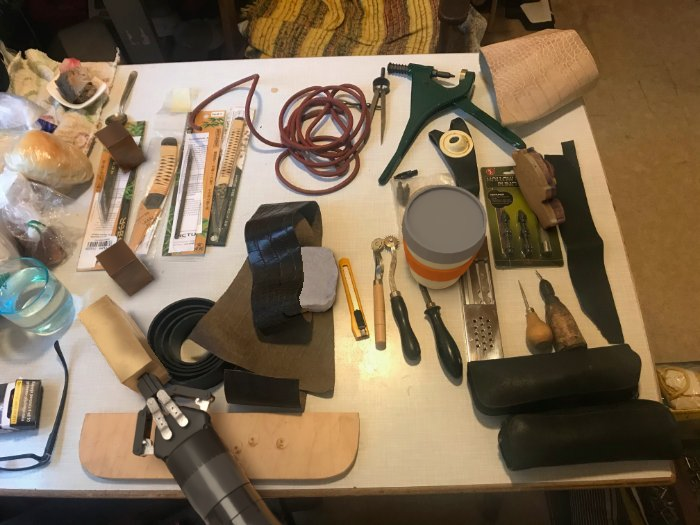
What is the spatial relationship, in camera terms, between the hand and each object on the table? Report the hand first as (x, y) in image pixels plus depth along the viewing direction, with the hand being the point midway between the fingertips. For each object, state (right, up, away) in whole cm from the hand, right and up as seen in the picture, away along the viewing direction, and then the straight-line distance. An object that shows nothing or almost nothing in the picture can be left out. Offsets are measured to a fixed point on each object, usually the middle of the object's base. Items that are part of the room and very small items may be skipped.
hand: (143, 377), depth 74 cm
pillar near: (-7, +14, +15) cm, 22 cm away
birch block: (-4, +1, +8) cm, 10 cm away
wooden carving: (+63, +28, +19) cm, 71 cm away
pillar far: (-14, +37, +28) cm, 49 cm away
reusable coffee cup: (+45, +16, +14) cm, 49 cm away
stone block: (+23, +13, +13) cm, 30 cm away
